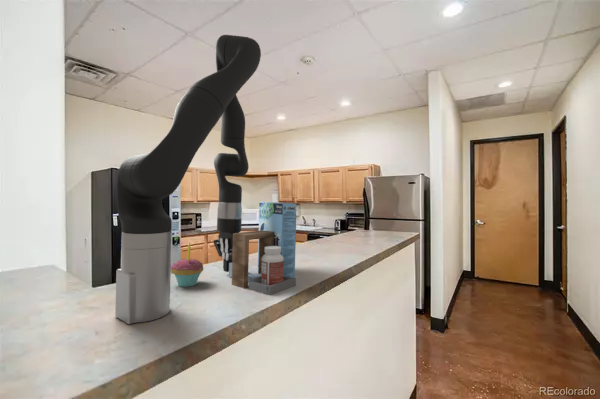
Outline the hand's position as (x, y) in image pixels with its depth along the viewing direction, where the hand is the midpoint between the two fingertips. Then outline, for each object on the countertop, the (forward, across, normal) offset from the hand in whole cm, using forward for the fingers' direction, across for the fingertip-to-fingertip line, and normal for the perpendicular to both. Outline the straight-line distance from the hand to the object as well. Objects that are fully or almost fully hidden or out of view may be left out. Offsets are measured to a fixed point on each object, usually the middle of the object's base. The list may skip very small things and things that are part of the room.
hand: (227, 271), depth 92 cm
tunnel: (+1, +11, 0) cm, 11 cm away
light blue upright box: (+1, +11, +10) cm, 15 cm away
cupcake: (+1, -1, -14) cm, 14 cm away
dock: (+1, +19, 0) cm, 19 cm away
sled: (+1, +9, 0) cm, 9 cm away
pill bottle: (+1, +19, 0) cm, 19 cm away
